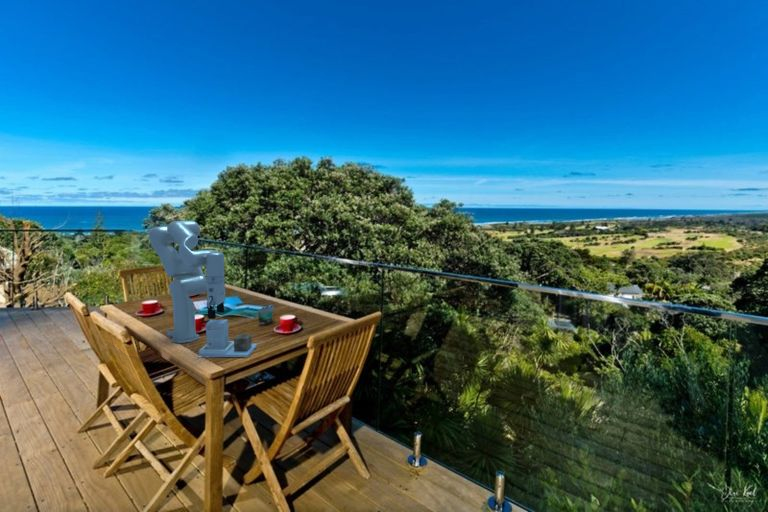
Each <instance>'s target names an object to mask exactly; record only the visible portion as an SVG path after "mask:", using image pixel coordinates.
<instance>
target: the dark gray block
mask: <svg viewBox="0 0 768 512" xmlns="http://www.w3.org/2000/svg"><path fill="white" fill-rule="evenodd" d="M233 341H234V351H248V350H249V349H250V348H251V347H252V346H251V344H252V334H245V333H244V334H242V333H240V334H237V335H236V336H235V337H233Z"/></svg>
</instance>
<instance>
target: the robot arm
mask: <svg viewBox="0 0 768 512" xmlns="http://www.w3.org/2000/svg"><path fill="white" fill-rule="evenodd" d="M200 232H201V227H200V225H199V223H198V222H196V221H194V220H174V221H171V222H170V223H168V225H162V226H161V225H160V226H155V227H153V228H151V230H150V231H149V234H148V237H149V238H148V239H149V243H150V245H151V247H152V249H153V250H154V252H155V253H156V254H157V255H158V257H159V259H160V260H159V261H161V264H162V266H163V269H164V271H165V273H166V275H167V276H168V277H169V278H170V279H173V280H172V281H171V282H170V284H169V291H170V296H171V301H172V312H173V314H172V315H173V330H167V331H166V335H167V337H168V336H169V337H170V336H171V338H170V340H171V342H172V341H173V342H172V343H174V342H177V343H176V344H187V343H191V342H194V341H197V340H199V339H200V335H199V334H198V333H196V332H197V331H196V314H195V311H196V310H195V303H194V301H193V300H192V299H191V298H190V296H196V295H200V294H204V293H206V309H207V319H210V320H216V317H217V316H216V313H224V312H225V301H226V298H227V297H226V287H225V254H224V253H223V252H221V251H217V250H214V249H200V250H192V249H194V248H195V247H196V246H197V245H198V243H199V238H198V236H199V235H200ZM169 243H177V244H178V245H179V246H178V250H177V249H176V248H175V247H174V246H173V245H171V244H169ZM202 267H205V271H206V274H204V271H203V269H202ZM186 342H187V343H186Z"/></svg>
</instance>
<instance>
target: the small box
mask: <svg viewBox="0 0 768 512" xmlns="http://www.w3.org/2000/svg"><path fill="white" fill-rule="evenodd" d="M205 333H206V337H205V338H206V344H207V349H216V350H225V349H226V348H227V347H228V346H229V341H230V339H229V320H228V319H210V320H208V321H207V322H206V323H205Z"/></svg>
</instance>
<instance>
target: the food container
mask: <svg viewBox="0 0 768 512" xmlns="http://www.w3.org/2000/svg"><path fill="white" fill-rule="evenodd" d="M274 310H275V307H274V305H273V304H271V303H267V305H266V306H262V307H261V308H257V316H258V325H259V326H268V325H271V324H273V315H274V313H273V311H274Z"/></svg>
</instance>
